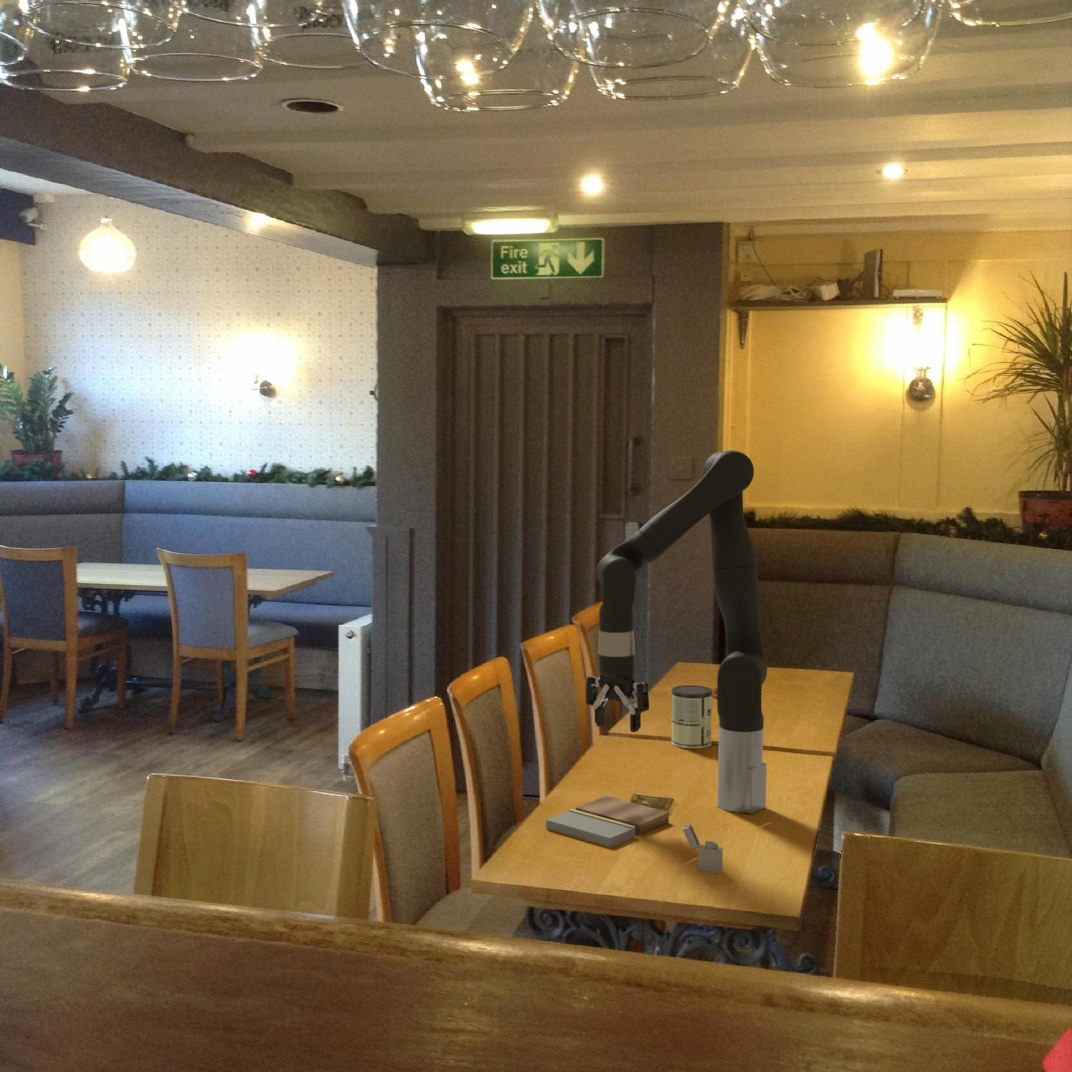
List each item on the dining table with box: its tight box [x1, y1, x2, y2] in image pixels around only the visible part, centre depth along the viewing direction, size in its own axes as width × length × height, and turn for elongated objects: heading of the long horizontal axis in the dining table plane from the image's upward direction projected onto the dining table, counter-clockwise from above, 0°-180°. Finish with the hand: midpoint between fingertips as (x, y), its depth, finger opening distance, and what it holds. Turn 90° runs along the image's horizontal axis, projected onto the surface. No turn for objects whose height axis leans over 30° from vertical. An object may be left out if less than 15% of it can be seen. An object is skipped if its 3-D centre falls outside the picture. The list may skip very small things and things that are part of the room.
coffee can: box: [670, 684, 714, 750], centre depth 300 cm, size 10×10×14 cm
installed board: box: [545, 808, 636, 849], centre depth 232 cm, size 16×8×2 cm, turn 49°
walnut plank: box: [575, 795, 670, 836], centre depth 240 cm, size 16×10×2 cm, turn 49°
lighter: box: [682, 823, 724, 875], centre depth 213 cm, size 7×2×8 cm, turn 71°
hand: (617, 728), depth 246 cm, fingers open, 8 cm apart
